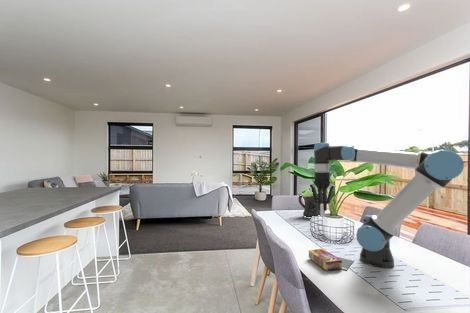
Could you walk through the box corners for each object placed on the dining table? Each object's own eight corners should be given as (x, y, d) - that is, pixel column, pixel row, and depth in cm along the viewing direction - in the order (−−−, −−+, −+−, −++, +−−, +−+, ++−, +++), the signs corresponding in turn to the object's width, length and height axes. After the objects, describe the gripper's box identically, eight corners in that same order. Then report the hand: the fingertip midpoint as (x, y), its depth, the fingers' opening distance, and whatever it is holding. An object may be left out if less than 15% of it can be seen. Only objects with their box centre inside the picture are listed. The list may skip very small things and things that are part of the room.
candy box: (308, 258, 127) (325, 270, 112) (308, 249, 127) (325, 261, 112) (323, 256, 129) (342, 268, 114) (323, 248, 129) (342, 259, 114)
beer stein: (325, 219, 213) (325, 190, 213) (305, 220, 208) (305, 191, 209) (315, 214, 229) (315, 188, 229) (296, 215, 225) (296, 189, 225)
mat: (354, 261, 124) (354, 260, 124) (346, 270, 113) (346, 269, 113) (325, 254, 133) (325, 253, 133) (316, 262, 122) (316, 261, 122)
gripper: (336, 171, 127) (337, 216, 126) (312, 171, 135) (313, 213, 134) (332, 172, 121) (333, 219, 120) (307, 171, 129) (308, 216, 129)
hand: (322, 216), depth 127 cm, fingers closed
